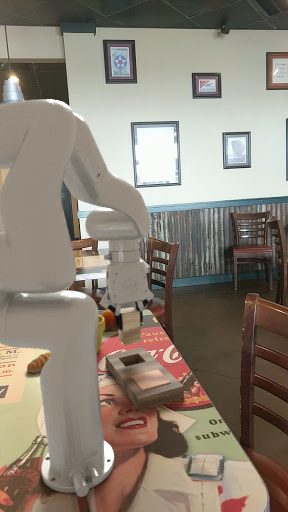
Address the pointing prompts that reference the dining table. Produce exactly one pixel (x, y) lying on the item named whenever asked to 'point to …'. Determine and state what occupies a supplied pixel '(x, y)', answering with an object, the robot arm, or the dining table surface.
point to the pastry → (38, 363)
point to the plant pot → (100, 332)
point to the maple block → (130, 326)
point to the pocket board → (144, 378)
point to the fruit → (109, 320)
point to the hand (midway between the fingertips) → (129, 326)
